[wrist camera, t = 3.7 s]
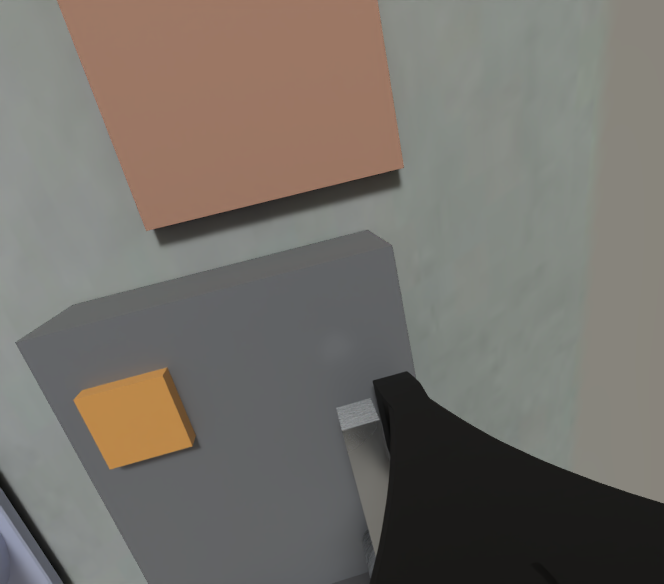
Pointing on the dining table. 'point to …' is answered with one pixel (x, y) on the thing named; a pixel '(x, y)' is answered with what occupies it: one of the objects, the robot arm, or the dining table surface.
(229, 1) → the mat
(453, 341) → the dining table surface
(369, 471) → the clip
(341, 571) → the power strip
